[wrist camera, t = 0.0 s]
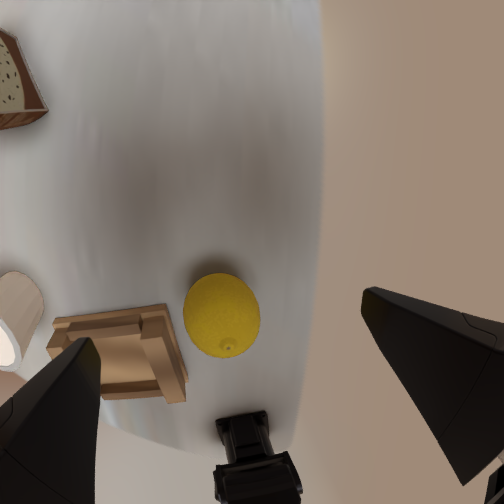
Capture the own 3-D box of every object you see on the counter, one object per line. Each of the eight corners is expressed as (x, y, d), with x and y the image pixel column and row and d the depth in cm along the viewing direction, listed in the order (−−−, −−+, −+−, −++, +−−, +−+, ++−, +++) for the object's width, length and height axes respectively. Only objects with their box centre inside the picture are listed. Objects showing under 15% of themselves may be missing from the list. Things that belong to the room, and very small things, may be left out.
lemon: (221, 244, 23) (237, 294, 16) (259, 290, 25) (288, 347, 18) (169, 284, 23) (165, 346, 16) (211, 325, 26) (222, 390, 18)
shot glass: (-14, 276, 19) (-50, 312, 13) (27, 255, 20) (-13, 293, 13) (18, 332, 22) (-8, 376, 15) (61, 319, 22) (36, 367, 16)
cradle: (187, 375, 27) (189, 404, 24) (90, 384, 26) (83, 410, 22) (165, 303, 24) (163, 331, 20) (55, 318, 22) (41, 343, 18)
